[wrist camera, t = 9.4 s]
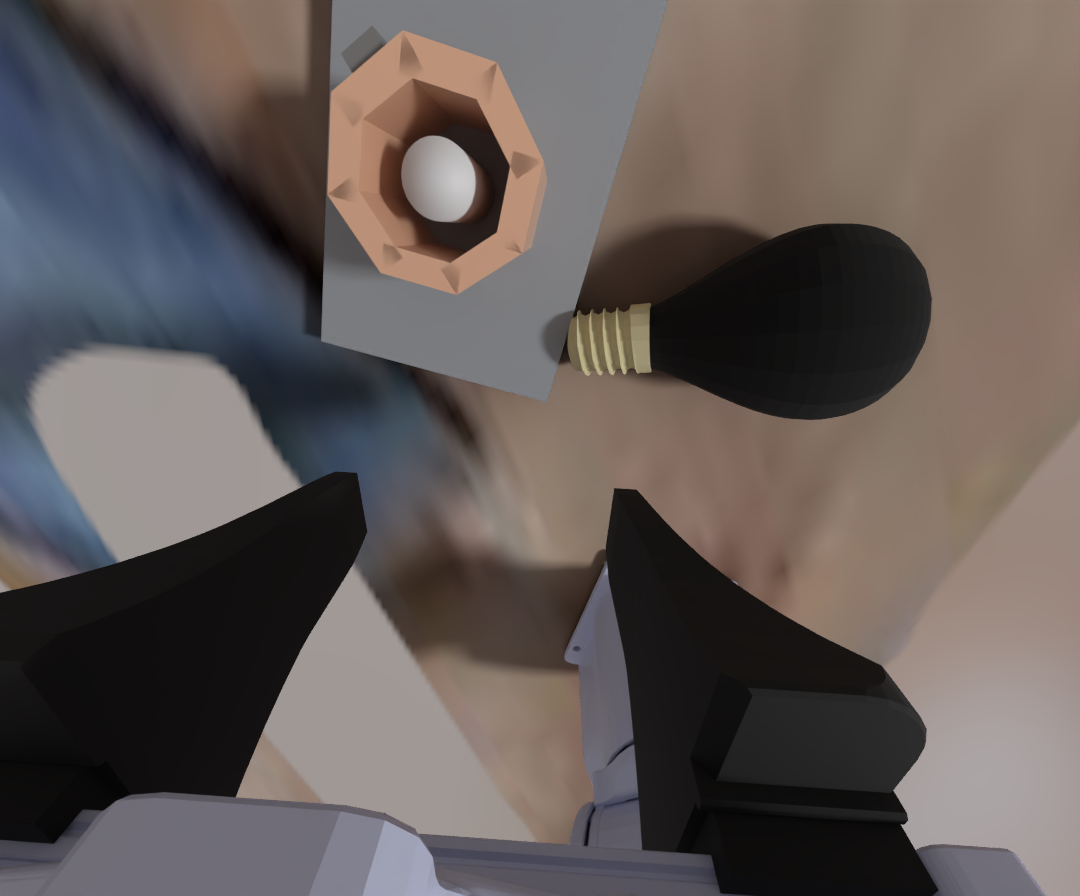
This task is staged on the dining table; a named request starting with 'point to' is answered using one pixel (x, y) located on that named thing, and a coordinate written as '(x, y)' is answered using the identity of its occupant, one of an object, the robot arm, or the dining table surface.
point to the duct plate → (496, 185)
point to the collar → (395, 125)
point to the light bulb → (779, 325)
